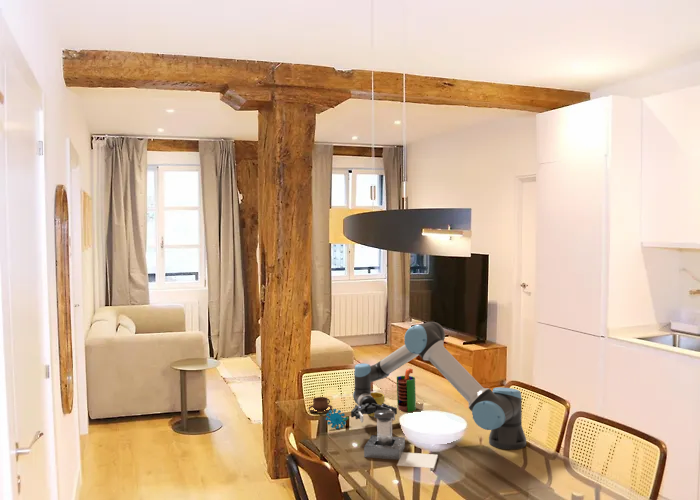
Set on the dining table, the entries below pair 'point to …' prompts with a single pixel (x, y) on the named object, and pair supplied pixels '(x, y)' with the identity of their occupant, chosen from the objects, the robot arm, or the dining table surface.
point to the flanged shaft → (384, 427)
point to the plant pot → (377, 400)
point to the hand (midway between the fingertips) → (378, 418)
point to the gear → (336, 419)
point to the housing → (384, 448)
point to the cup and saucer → (320, 404)
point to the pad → (418, 460)
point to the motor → (406, 392)
